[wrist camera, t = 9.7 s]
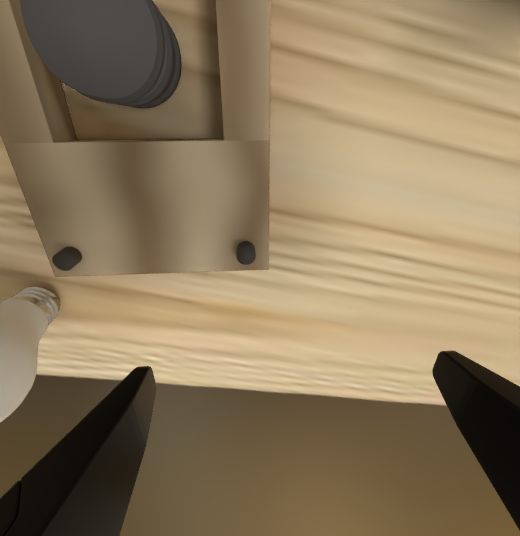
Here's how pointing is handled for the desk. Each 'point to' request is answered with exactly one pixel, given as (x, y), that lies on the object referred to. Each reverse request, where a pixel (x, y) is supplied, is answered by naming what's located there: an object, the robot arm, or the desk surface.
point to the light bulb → (22, 342)
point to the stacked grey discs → (106, 48)
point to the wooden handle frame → (144, 165)
